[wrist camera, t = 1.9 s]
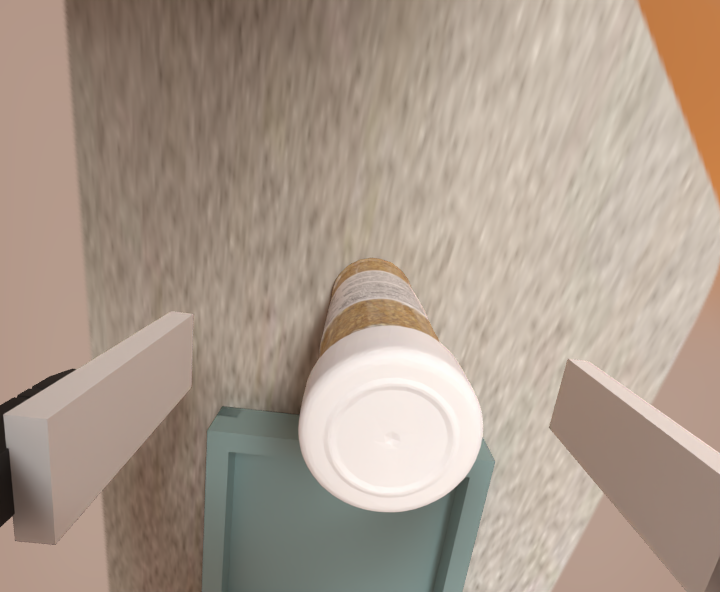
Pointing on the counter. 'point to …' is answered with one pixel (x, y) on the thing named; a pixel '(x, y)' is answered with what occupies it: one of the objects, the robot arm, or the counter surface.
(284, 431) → the tray
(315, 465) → the sprinkles bottle
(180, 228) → the counter surface
